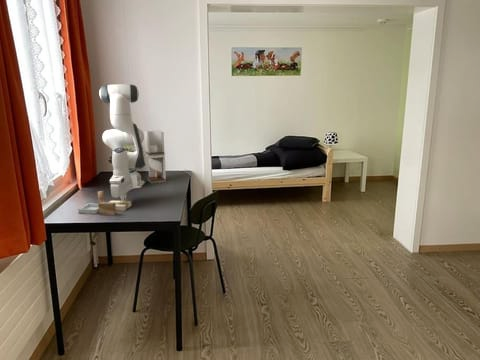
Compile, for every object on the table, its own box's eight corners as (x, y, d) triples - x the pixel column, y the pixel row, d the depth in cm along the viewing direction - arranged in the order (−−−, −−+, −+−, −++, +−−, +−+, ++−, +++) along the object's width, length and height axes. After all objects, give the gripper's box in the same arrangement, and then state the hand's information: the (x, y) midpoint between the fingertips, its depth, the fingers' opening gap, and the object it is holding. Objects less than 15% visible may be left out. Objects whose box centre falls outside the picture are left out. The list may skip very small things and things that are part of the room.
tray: (88, 207, 208) (88, 203, 207) (105, 208, 206) (105, 204, 206) (78, 213, 198) (78, 209, 197) (96, 214, 196) (95, 209, 196)
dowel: (100, 204, 213) (99, 190, 211) (105, 204, 213) (104, 191, 211) (97, 205, 210) (96, 192, 209) (102, 206, 210) (101, 192, 208)
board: (111, 205, 213) (111, 200, 212) (131, 206, 211) (131, 201, 211) (103, 210, 203) (102, 205, 203) (123, 211, 202) (123, 206, 201)
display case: (147, 179, 271) (144, 131, 262) (162, 178, 275) (159, 130, 267) (151, 183, 261) (147, 133, 252) (166, 181, 265) (163, 132, 257)
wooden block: (102, 212, 199) (101, 202, 197) (116, 213, 197) (115, 202, 196) (99, 214, 196) (98, 203, 194) (113, 215, 195) (112, 204, 193)
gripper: (124, 173, 221) (126, 195, 225) (107, 181, 202) (110, 205, 205) (134, 173, 221) (136, 195, 224) (118, 181, 201) (120, 206, 204)
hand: (123, 200), depth 214 cm, fingers closed
